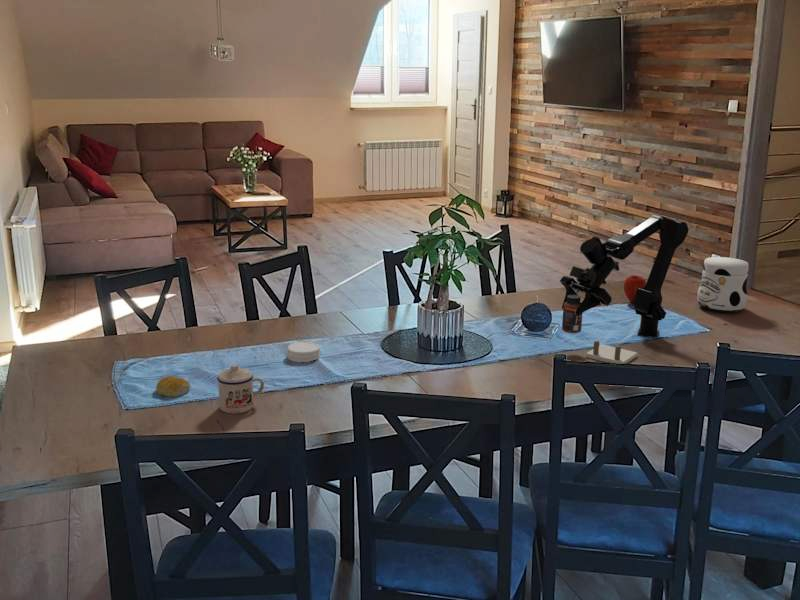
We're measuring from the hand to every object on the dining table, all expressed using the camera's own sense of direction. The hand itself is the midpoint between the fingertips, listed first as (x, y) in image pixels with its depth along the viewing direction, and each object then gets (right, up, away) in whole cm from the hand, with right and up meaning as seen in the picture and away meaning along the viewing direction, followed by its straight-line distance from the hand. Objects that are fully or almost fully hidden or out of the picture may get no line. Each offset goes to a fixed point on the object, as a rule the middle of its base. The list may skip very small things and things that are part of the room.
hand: (569, 311), depth 250 cm
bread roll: (-115, -22, -30) cm, 121 cm away
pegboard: (+13, -14, -1) cm, 19 cm away
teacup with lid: (-94, -25, -40) cm, 105 cm away
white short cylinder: (-82, -14, -4) cm, 83 cm away
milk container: (+67, 0, +50) cm, 83 cm away
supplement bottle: (+1, -6, +3) cm, 7 cm away
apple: (+36, +2, +55) cm, 66 cm away
